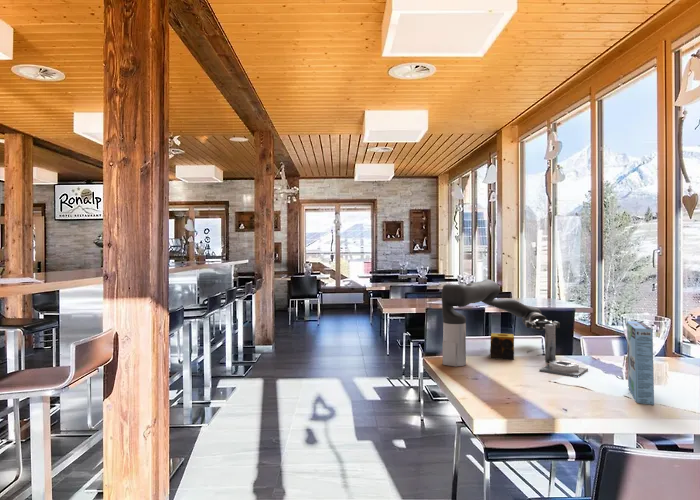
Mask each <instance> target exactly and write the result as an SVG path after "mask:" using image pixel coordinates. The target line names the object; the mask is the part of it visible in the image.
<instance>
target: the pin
mask: <svg viewBox="0 0 700 500" xmlns="http://www.w3.org/2000/svg"><path fill="white" fill-rule="evenodd" d="M544 339H545V340H544V342H545V343H544V347H545V348H544V352H545V354H544V358H545V359H544V360H545V363H546V364H549V361H556V329H555V325H553V324H545V330H544Z"/></svg>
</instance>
